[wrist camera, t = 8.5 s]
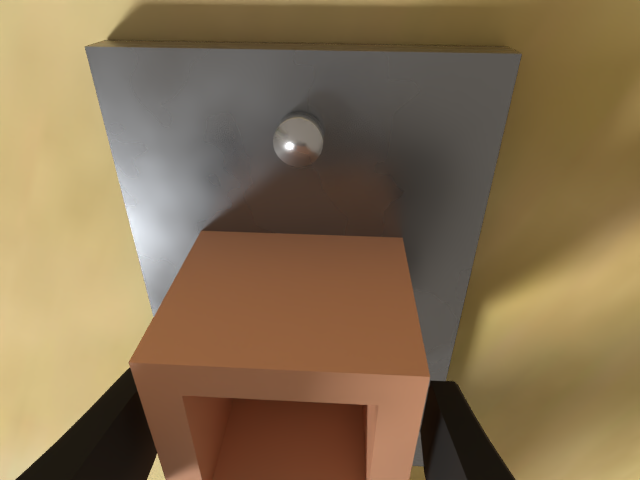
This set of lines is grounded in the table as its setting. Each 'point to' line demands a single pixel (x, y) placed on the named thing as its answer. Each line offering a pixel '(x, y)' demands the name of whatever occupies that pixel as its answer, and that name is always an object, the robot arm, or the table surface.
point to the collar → (285, 360)
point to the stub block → (310, 152)
